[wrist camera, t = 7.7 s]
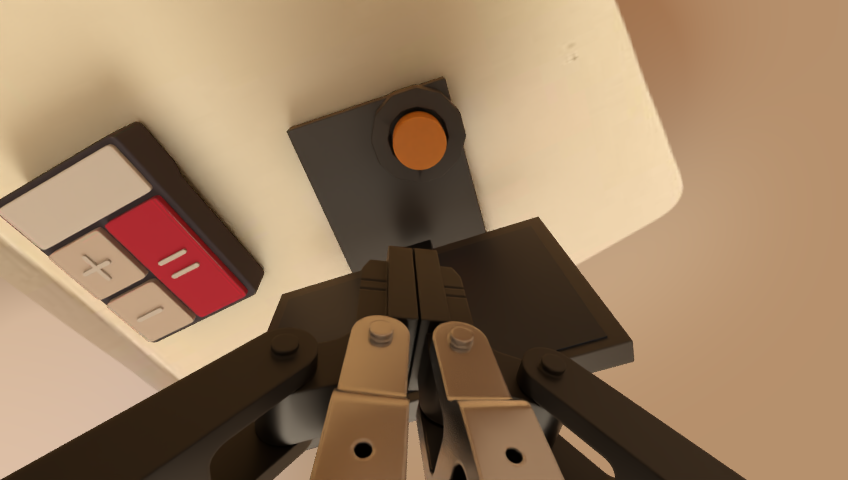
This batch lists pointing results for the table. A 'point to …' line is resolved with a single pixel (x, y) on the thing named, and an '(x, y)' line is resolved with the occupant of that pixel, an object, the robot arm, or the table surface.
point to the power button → (419, 140)
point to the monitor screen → (491, 301)
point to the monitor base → (388, 176)
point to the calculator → (134, 234)
